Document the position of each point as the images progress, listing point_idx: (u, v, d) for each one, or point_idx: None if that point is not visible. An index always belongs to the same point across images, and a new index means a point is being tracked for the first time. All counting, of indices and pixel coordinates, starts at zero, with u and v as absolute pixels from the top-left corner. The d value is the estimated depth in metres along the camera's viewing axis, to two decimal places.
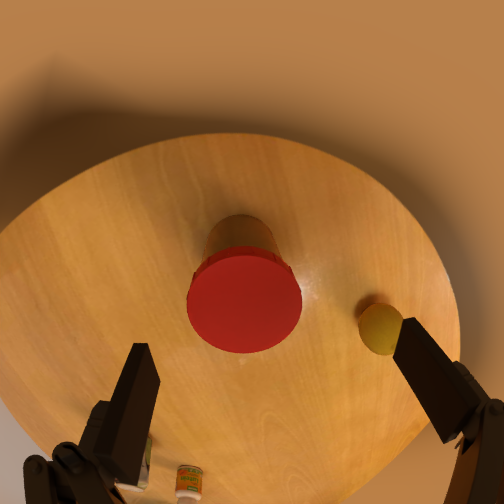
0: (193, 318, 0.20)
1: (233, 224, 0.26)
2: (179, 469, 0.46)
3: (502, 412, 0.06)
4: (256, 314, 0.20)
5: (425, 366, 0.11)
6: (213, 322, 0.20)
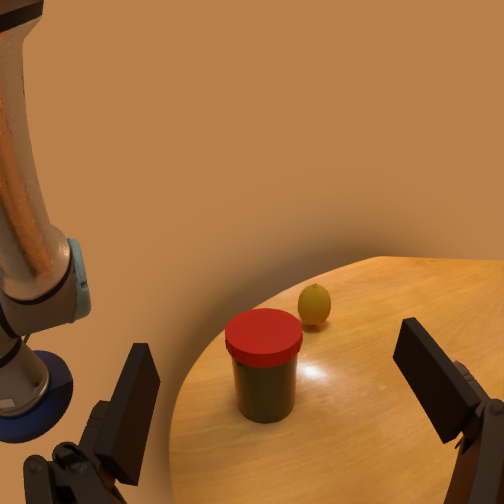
0: (272, 350, 0.26)
1: None
2: None
3: (502, 412, 0.06)
4: (267, 324, 0.30)
5: (425, 366, 0.11)
6: (274, 341, 0.27)
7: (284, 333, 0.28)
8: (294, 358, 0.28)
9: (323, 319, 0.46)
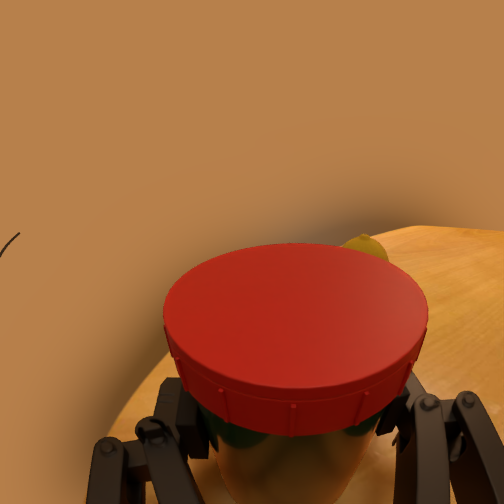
0: (354, 369, 0.05)
1: None
2: None
3: (436, 406, 0.08)
4: (306, 275, 0.09)
5: None
6: (351, 328, 0.07)
7: (373, 299, 0.08)
8: None
9: None
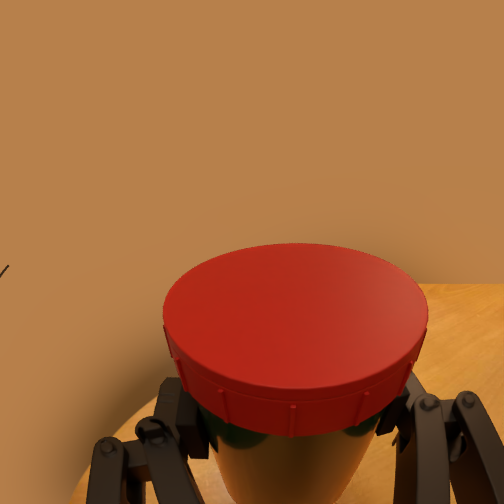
0: (354, 369, 0.05)
1: None
2: None
3: (436, 406, 0.08)
4: (306, 275, 0.09)
5: None
6: (351, 328, 0.07)
7: (373, 299, 0.08)
8: None
9: None
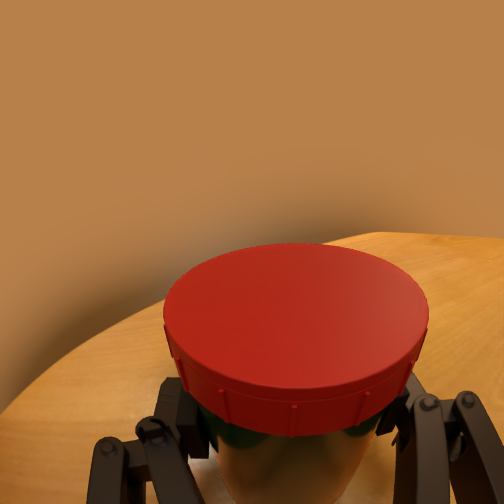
0: (355, 369, 0.05)
1: None
2: None
3: (435, 406, 0.08)
4: (306, 275, 0.09)
5: None
6: (352, 328, 0.07)
7: (374, 299, 0.08)
8: None
9: None
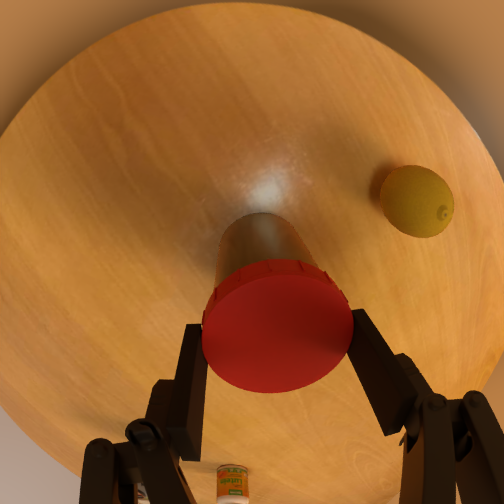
0: (218, 368, 0.15)
1: (242, 230, 0.21)
2: (218, 471, 0.39)
3: (443, 406, 0.08)
4: (296, 345, 0.14)
5: (368, 356, 0.12)
6: (244, 367, 0.15)
7: (270, 374, 0.15)
8: None
9: (386, 216, 0.22)
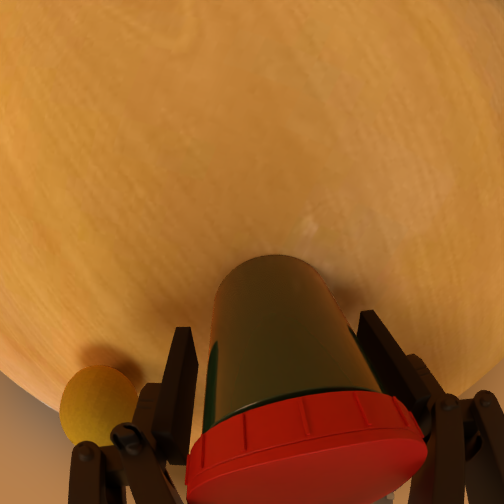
0: None
1: None
2: None
3: (456, 406, 0.08)
4: (337, 497, 0.07)
5: (379, 358, 0.12)
6: None
7: None
8: (345, 372, 0.08)
9: (121, 381, 0.16)
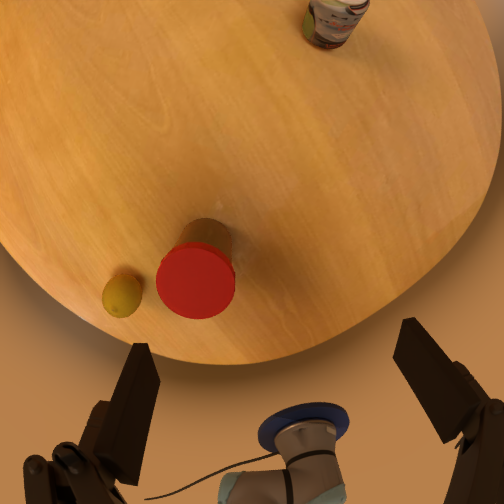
0: (165, 301, 0.29)
1: None
2: None
3: (502, 412, 0.06)
4: (203, 287, 0.28)
5: (425, 366, 0.11)
6: (179, 300, 0.29)
7: (193, 305, 0.29)
8: (206, 242, 0.30)
9: (135, 279, 0.38)
